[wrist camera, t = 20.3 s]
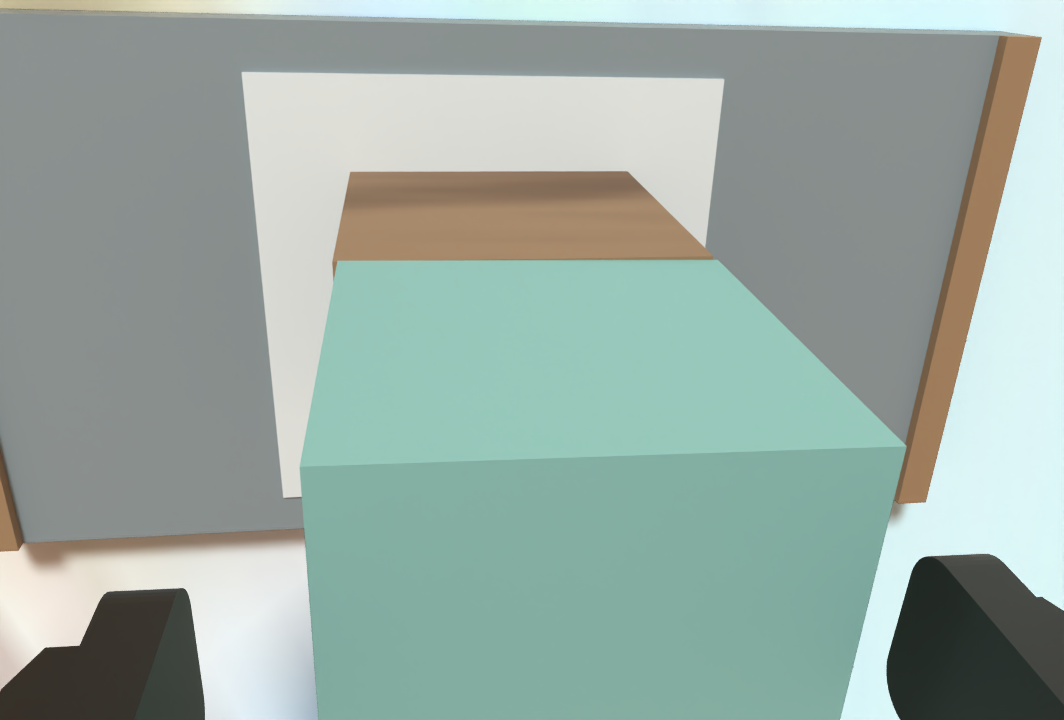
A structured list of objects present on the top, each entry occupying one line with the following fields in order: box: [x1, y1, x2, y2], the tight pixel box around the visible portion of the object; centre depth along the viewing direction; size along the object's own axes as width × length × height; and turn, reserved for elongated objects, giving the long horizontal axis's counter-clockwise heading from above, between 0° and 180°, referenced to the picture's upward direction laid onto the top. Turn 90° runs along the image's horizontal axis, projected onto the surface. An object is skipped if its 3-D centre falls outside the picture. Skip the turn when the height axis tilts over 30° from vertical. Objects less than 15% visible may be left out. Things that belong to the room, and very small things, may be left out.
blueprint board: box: [0, 9, 1042, 552], centre depth 21 cm, size 12×24×2 cm, turn 88°
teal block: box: [300, 260, 907, 720], centre depth 13 cm, size 6×6×6 cm
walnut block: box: [332, 171, 713, 282], centre depth 18 cm, size 6×6×6 cm
